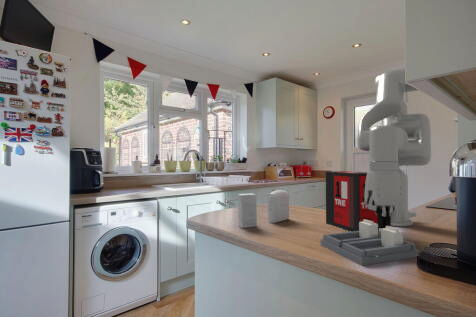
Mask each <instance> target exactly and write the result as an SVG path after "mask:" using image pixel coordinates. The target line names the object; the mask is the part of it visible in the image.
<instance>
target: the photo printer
mask: <svg viewBox="0 0 476 317" xmlns="http://www.w3.org/2000/svg"><path fill="white" fill-rule="evenodd" d="M267 213H268V214H267V217H268V218H267V220H268V222H269V223H271V224H276V223H280V222H284V221H287V220H289V219H290V195H289V193H288V191H287V190H283V189H277V190H273V191H272V192H270V193H268V196H267Z"/></svg>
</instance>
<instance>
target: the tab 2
mask: <svg viewBox="0 0 476 317" xmlns="http://www.w3.org/2000/svg"><path fill="white" fill-rule="evenodd" d="M380 231H381V232H380V233H381V245H382V246H384V247H386V246H394V245H401V244H403V240H404V231H403V230H399V228H396V227H395V226H391V227H390V226H386V228H382V229H380Z"/></svg>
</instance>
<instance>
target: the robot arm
mask: <svg viewBox="0 0 476 317" xmlns="http://www.w3.org/2000/svg"><path fill="white" fill-rule="evenodd" d="M405 68H406V67H404V68H403V67H402V68H396V69H390V70H388V71H385V72H383V73H380V74H378V75H377V76H376V77H375V79H374V89H375V94H376V96H375V97H376V98H375V104H374V105H373V106H372V107H370V108H369V109H368V110H367V111H366V112H365V113H364V114H363V116H361V119H360V121H359V124H358V130H357V136H356V137H357V139H356V140H357V141H356V142H357V147H358V148H359V149H360V150H361V151H362V152H369V156H368V157H369V171H367V177H366V182H365V197H364V198H365V203H366V204H369V205H368V209H370V210H374V211H375V213H376V215H378V228H379V230H381V229H382V228H386V226H390V227H410V226H411V227H412V226H414V221H413V220H411V218H416V217H417V212H416V211H410V210H409V187H408V186H409V180H408V176H407V174H406V172H405V171H403V169H401V167H403V166H408V167H409V166H410V167H412V166H413V167H414V166H415V167H417V166H418V167H421V166H426V165H428V164H429V163H430V162H431V158H432V144H431V143H432V141H431V140H432V138H431V136H432V134H431V123H430V119H429V117H428V115H427V114H425V113H407V108H408V107H407V103H406V102H405V101H404V95H405V94H404V93H409V92H417V91H419V90H418V89H416V88H414V87H412V86H410V85H408V84H406V83H405ZM380 121H381V125H378V126H374V125H375V124H377V123H378V122H380ZM372 126H373V127H372Z"/></svg>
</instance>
